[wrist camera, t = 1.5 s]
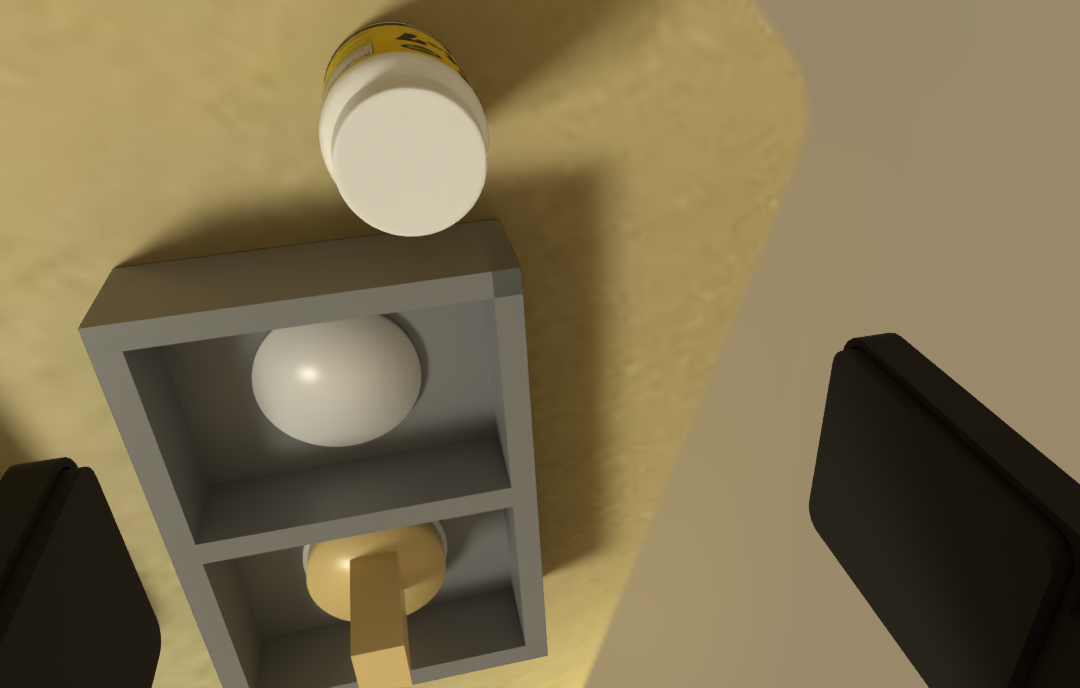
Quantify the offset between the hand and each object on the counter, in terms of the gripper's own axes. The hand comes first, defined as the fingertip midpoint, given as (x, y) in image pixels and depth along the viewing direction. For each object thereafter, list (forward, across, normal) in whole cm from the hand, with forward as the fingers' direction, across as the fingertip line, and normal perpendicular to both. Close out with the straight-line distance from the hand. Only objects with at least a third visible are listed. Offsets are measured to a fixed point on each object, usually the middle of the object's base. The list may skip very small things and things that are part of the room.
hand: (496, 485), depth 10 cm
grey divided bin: (+21, +4, +15) cm, 26 cm away
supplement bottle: (+21, 0, 0) cm, 21 cm away
